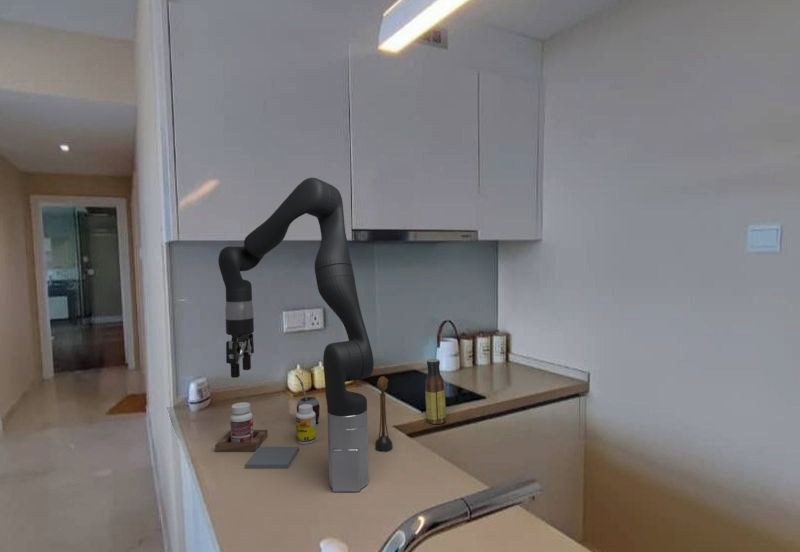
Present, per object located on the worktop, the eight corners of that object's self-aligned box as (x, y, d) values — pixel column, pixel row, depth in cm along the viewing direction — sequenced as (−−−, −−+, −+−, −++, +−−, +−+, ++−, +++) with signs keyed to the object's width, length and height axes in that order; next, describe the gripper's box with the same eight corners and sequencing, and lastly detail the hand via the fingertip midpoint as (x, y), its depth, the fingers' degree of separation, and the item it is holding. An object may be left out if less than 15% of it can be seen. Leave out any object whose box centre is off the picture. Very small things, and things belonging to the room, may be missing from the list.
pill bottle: (256, 445, 133) (255, 405, 132) (234, 450, 129) (232, 409, 129) (250, 438, 138) (249, 400, 137) (228, 443, 134) (227, 404, 134)
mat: (288, 468, 117) (288, 464, 117) (245, 468, 118) (244, 464, 118) (299, 450, 128) (299, 446, 128) (259, 450, 129) (259, 446, 129)
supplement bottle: (292, 442, 134) (291, 407, 133) (305, 436, 139) (304, 402, 138) (307, 446, 131) (306, 410, 131) (320, 439, 136) (319, 404, 136)
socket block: (254, 451, 128) (254, 444, 128) (215, 452, 128) (215, 444, 128) (267, 436, 139) (267, 429, 139) (231, 436, 139) (230, 430, 139)
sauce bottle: (444, 418, 152) (443, 357, 151) (447, 425, 146) (446, 361, 145) (424, 418, 152) (423, 358, 151) (426, 425, 145) (425, 362, 145)
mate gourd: (318, 427, 145) (317, 379, 145) (292, 428, 145) (291, 380, 144) (321, 419, 153) (319, 374, 152) (296, 420, 152) (295, 374, 152)
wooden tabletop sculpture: (380, 442, 133) (379, 373, 132) (395, 444, 131) (394, 374, 130) (372, 450, 127) (371, 378, 126) (388, 452, 126) (387, 379, 125)
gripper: (243, 320, 125) (244, 380, 126) (261, 313, 139) (262, 367, 140) (215, 320, 125) (217, 380, 126) (236, 313, 140) (238, 367, 140)
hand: (241, 373), depth 133 cm, fingers open, 8 cm apart
